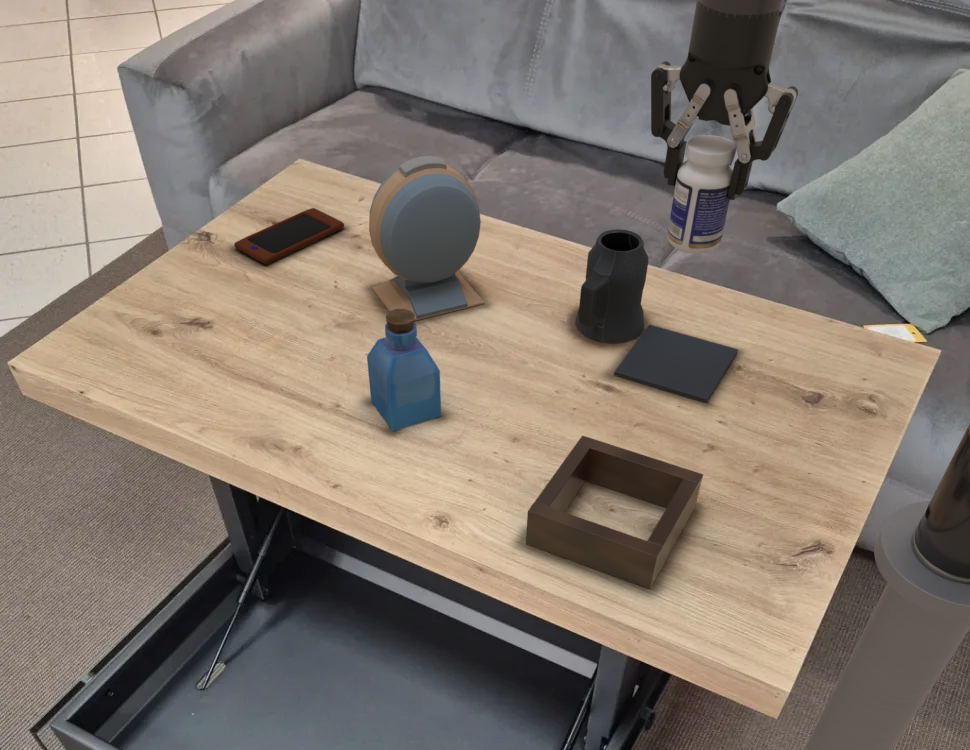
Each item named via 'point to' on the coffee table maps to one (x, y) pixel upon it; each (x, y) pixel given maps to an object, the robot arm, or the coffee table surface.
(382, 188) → the alarm clock
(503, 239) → the coffee table surface
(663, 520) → the walnut box
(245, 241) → the smartphone
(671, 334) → the rubber mat
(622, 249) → the black vase
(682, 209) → the pill bottle
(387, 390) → the perfume bottle
